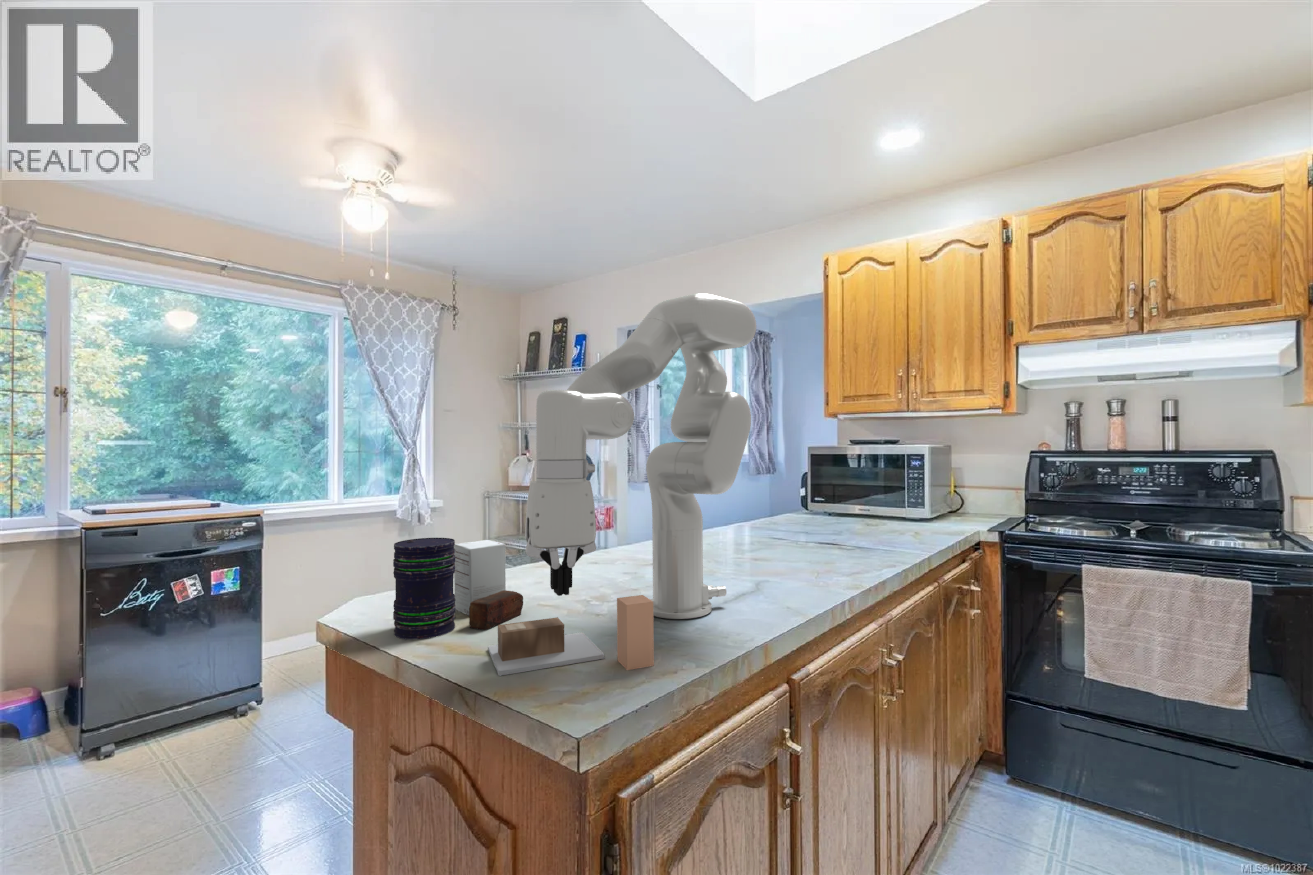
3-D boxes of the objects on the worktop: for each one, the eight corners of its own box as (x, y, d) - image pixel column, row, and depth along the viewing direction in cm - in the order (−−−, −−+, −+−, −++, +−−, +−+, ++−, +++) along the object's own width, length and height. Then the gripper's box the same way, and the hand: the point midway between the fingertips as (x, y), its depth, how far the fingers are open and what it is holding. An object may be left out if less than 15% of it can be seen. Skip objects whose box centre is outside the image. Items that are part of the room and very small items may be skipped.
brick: (487, 631, 96) (487, 604, 97) (468, 629, 98) (468, 601, 98) (524, 614, 106) (524, 589, 106) (506, 612, 108) (506, 587, 108)
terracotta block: (643, 656, 84) (642, 594, 84) (653, 665, 81) (653, 601, 81) (617, 660, 83) (616, 598, 83) (627, 670, 79) (626, 604, 79)
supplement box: (489, 602, 115) (488, 538, 115) (506, 609, 109) (506, 543, 109) (453, 609, 110) (452, 543, 110) (469, 617, 104) (469, 548, 104)
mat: (582, 635, 93) (582, 632, 93) (604, 658, 83) (604, 654, 83) (488, 649, 87) (487, 645, 87) (498, 675, 77) (498, 671, 77)
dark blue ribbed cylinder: (467, 623, 101) (466, 538, 101) (433, 641, 91) (433, 548, 92) (417, 619, 103) (417, 536, 103) (379, 637, 94) (379, 546, 94)
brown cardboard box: (557, 617, 88) (497, 624, 85) (564, 624, 85) (502, 632, 81) (557, 643, 88) (497, 652, 85) (564, 651, 85) (502, 661, 81)
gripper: (600, 470, 93) (600, 583, 93) (507, 472, 87) (506, 593, 87) (616, 472, 86) (616, 593, 86) (516, 473, 80) (515, 605, 80)
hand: (561, 593), depth 86 cm, fingers closed
